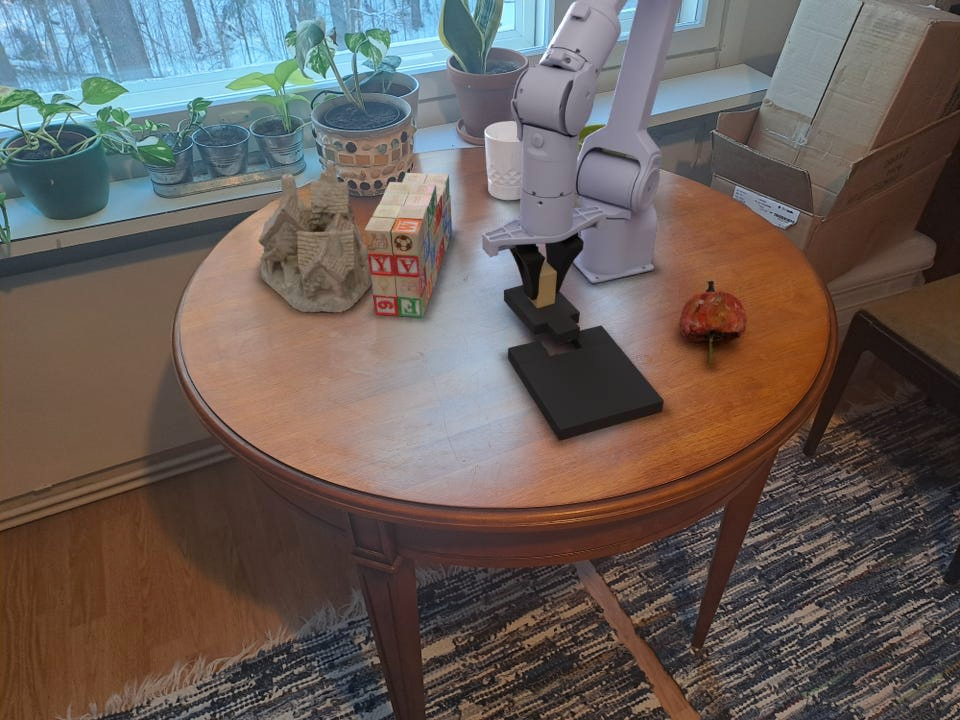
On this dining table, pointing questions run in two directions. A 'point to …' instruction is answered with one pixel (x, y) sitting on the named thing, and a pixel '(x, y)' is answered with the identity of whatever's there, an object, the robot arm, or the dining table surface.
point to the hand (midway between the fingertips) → (541, 292)
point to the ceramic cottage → (315, 247)
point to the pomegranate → (713, 317)
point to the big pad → (584, 384)
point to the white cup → (503, 160)
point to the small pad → (545, 309)
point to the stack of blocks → (408, 243)
